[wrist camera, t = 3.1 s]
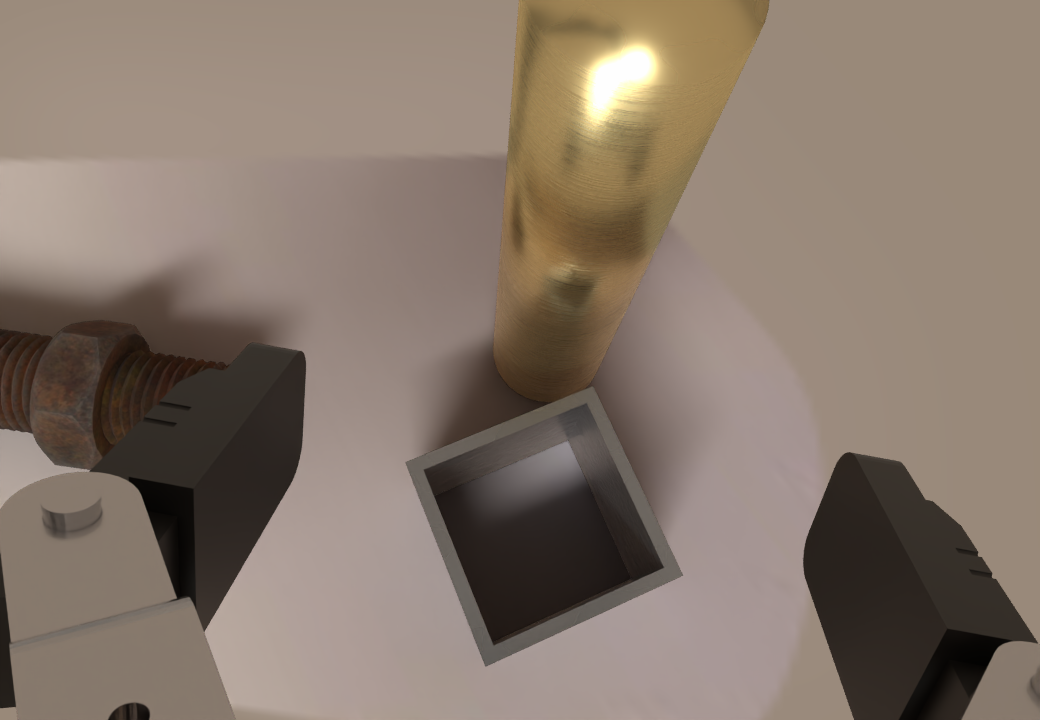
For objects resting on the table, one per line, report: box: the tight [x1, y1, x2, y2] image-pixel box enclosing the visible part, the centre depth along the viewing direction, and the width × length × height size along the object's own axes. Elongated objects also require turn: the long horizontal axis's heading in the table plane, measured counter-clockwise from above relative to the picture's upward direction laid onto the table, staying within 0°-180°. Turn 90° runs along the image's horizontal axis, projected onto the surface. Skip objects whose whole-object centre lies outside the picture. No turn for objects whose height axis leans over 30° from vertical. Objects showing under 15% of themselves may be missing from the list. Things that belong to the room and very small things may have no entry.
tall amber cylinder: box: [493, 0, 769, 402], centre depth 21 cm, size 4×4×18 cm
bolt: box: [0, 320, 231, 470], centre depth 26 cm, size 6×5×15 cm
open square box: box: [405, 386, 683, 666], centre depth 25 cm, size 6×6×5 cm
